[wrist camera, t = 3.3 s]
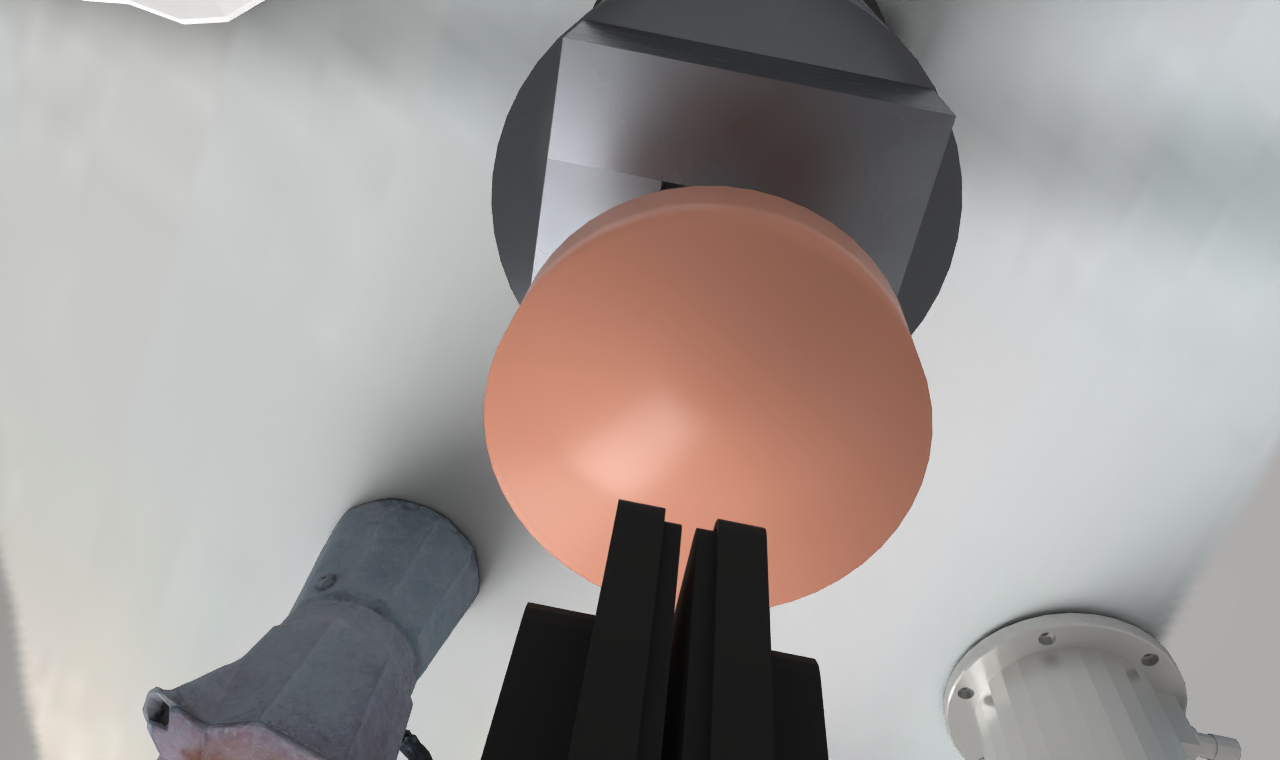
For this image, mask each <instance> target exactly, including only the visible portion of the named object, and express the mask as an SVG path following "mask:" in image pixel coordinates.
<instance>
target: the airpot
mask: <svg viewBox="0 0 1280 760" xmlns="http://www.w3.org/2000/svg"><path fill="white" fill-rule="evenodd" d="M955 118H956V115H955V114H954V113H953V112H952V110H951V109H950V108H949V107H948V106H947V105H946V104H945V102H944V101H943V100H942V99H941V98H940V97H939V95H938V93H937V91H936V89H935V87H934V85H933V84H932V82H931V81H930V79H929V78H928V76H927V75H926V73H925V72H924V70H923V68H922V67H921V65H920V64H919V62H918V61H917V59H916V58H915V57H914V56H913V55H912V54H911V53H910V52H909V50H908V49H907V48H906V47H905V46H904V45H903V44H902V42H901V41H900V40H899V39H898V38H897V37H896V36H895V35H894V34H893V32H892V31H891V30H890V29H889V28H888V27H887V26H886V24H885V21H884V18H883V16H882V14H881V12H880V10H879V7H878V5H877V3H876V1H875V0H597V1H596V3H595V5H594V7H593V9H592V10H591V11H589V12H588V13H587V14H586V15H585V16H584V17H582V18H581V19H580V20H579V21H578V22H577V23H575V24H574V25H573V26H572V27H571V28H570V29H569V30H567V31H566V32H565V33H564V34H563V35H562V36H560V37H559V38H558V39H557V40H556V42H555V43H554V44H553V45H552V46H551V47H550V49H549V50H548V51H547V52H546V53H545V54H544V55H543V57H542V58H541V59H540V60H539V61H538V62H537V64H536V65H535V67H534V68H533V70H532V71H531V73H530V74H529V76H528V77H527V79H526V81H525V82H524V84H523V85H522V87H521V88H520V90H519V92H518V94H517V96H516V99H515V101H514V103H513V105H512V107H511V109H510V111H509V113H508V115H507V118H506V121H505V124H504V127H503V131H502V134H501V137H500V140H499V143H498V147H497V153H496V159H495V164H494V170H493V179H492V214H493V224H494V234H495V238H496V242H497V247H498V251H499V255H500V260H501V263H502V266H503V268H504V271H505V274H506V276H507V279H508V282H509V284H510V287H511V289H512V291H513V293H514V295H515V297H516V299H517V301H518V303H519V304H521V302H522V301H523V299H524V297H525V295H526V293H527V291H528V289H529V287H530V286H531V284H532V282H533V280H534V278H535V276H536V275H537V273H538V272H539V270H540V269H541V268H542V266H543V265H544V264H545V262H546V261H547V260H548V258H549V257H550V256H551V254H552V253H553V252H554V251H555V250H556V249H557V248H558V247H559V246H560V245H561V244H562V243H563V242H564V241H565V240H566V239H567V238H568V237H569V236H570V235H572V234H573V233H574V232H575V231H577V230H578V229H579V228H581V227H582V226H583V225H585V224H586V223H587V222H589V221H590V220H591V219H593V218H595V217H597V216H599V215H600V214H602V213H604V212H606V211H607V210H609V209H611V208H613V207H615V206H617V205H620V204H622V203H624V202H627V201H629V200H632V199H634V198H637V197H639V196H643V195H647V194H651V193H655V192H659V191H663V190H666V189H674V188H682V187H690V186H727V187H735V188H742V189H750V190H755V191H759V192H762V193H766V194H770V195H774V196H777V197H781V198H783V199H786V200H788V201H791V202H793V203H795V204H798V205H800V206H803V207H805V208H807V209H809V210H811V211H813V212H814V213H816V214H818V215H819V216H821V217H823V218H825V219H826V220H828V221H830V222H831V223H833V224H834V225H835V226H837V227H838V228H839V229H840V230H842V231H843V232H844V233H846V234H847V235H848V236H849V237H851V238H852V239H853V240H854V241H855V242H856V243H857V244H858V245H859V246H860V247H861V248H862V249H863V250H864V251H865V252H866V253H867V254H868V255H869V256H870V257H871V258H872V259H873V261H874V262H875V264H876V265H877V266H878V268H879V269H880V270H881V272H882V273H883V275H884V276H885V277H886V279H887V280H888V282H889V284H890V286H891V288H892V290H893V292H894V294H895V295H896V297H897V299H898V301H899V303H900V306H901V309H902V312H903V315H904V317H905V320H906V323H907V326H908V329H909V332H910V334H911V335H912V334H913V332H914V331H915V330H916V328H917V327H918V326H919V324H920V323H921V322H922V321H923V319H924V318H925V316H926V314H927V312H928V311H929V309H930V307H931V306H932V304H933V302H934V301H935V299H936V297H937V295H938V294H939V291H940V289H941V287H942V284H943V282H944V280H945V277H946V275H947V272H948V270H949V268H950V265H951V261H952V257H953V254H954V250H955V246H956V243H957V239H958V233H959V226H960V218H961V210H962V176H961V169H960V163H959V156H958V149H957V144H956V141H955V138H954V134H953V131H952V127H953V124H954V121H955Z"/></svg>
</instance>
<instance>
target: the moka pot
mask: <svg viewBox="0 0 1280 760" xmlns="http://www.w3.org/2000/svg"><path fill="white" fill-rule="evenodd" d="M478 592H479V575H478V567H477V561H476V557H475V552H474V550H473V548H472V547H471V545H470V543H469V542H468V541H467V539H466V538H465V537H464V536H463V535H462V533H460V532H459V531H458V530H457V528H456V527H455V526H453V525H452V524H451V522H450V521H449V519H446V518H444V517H443V516H442V515H440V514H438V513H436V512H434V511H433V510H432V509H429V508H427V507H424V506H420V505H417V504H415V503H413V502H407V501H405V500H398V499H387V500H378V501H374V502H370V503H366V504H363V505H361V506H358V507H356V508H353V509H350V510H349V511H347V512H346V513H345V514H344V515H343V516H342V518H341V519H340V521H339V522H338V524H337V525H336V527H335V529H334V530H333V532H332V534H331V536H330V537H329V539H328V541H327V543H326V544H325V546H324V547H323V549H322V551H321V553H320V555H319V557H318V559H317V561H316V563H315V565H314V567H313V569H312V571H311V573H310V575H309V577H308V579H307V581H306V583H305V585H304V587H303V589H302V591H301V593H300V595H299V596H298V598H297V600H296V602H295V604H294V606H293V608H292V610H291V612H290V614H289V616H288V617H287V618H286V619H285V620H284V621H283V622H282V624H281V625H278V626H274V627H273V628H272V629H271V630H270V631H269V632H268V633H267V634H266V635H265V636H264V637H263V638H262V639H261V640H260V641H259V642H258V643H257V644H256V645H255V646H254V647H253V648H252V649H251V650H250V651H249V652H248V653H247V654H246V655H245V656H243V657H242V658H241V659H239V660H237V661H235V662H233V663H231V664H228V665H225V666H223V667H221V668H218V669H216V670H214V671H212V672H210V673H208V674H206V675H204V676H202V677H200V678H198V679H195V680H193V681H191V682H188V683H186V684H184V685H181V686H179V687H177V688H175V689H173V690H163V689H161V688H159V687H155V688H154V689H152V690H151V691H149V693H148V695H147V697H146V701H145V704H144V707H143V714H144V717H145V719H146V721H147V729H148V731H149V733H150V735H151V737H152V740H153V742H154V744H155V746H156V748H157V750H158V752H159V754H160V755H159V757H158V759H157V760H396V759H397V756H398V753H399V750H400V751H401V752H402V753H403V754H404V755H405V756H406V757H407V758H408V760H433V759H432V757H431V755H430V753H429V751H428V750H427V749H426V748H425V746H424V745H422V744H421V743H420V741H419V740H418V738H417V737H416V735H413V734H411V732H410V730H406V726H407V723H408V720H409V716H410V713H411V710H412V706H413V703H412V700H411V697H410V696H411V694H412V692H413V690H414V687H415V684H416V682H417V680H418V679H419V678H420V676H421V675H422V674H423V673H424V671H425V670H426V669H427V667H428V665H429V664H430V662H431V661H432V660H433V658H434V657H435V655H436V654H437V652H438V651H439V649H440V648H441V646H442V645H443V644H444V642H445V641H446V640H447V638H448V637H449V635H450V634H451V632H452V631H453V629H454V628H455V626H456V625H457V624H458V622H459V621H460V619H461V618H462V617H463V615H464V614H465V612H466V611H467V610H468V608H469V607H470V606H471V604H472V603H473V601H474V600H475V598H476V596H477V595H478Z"/></svg>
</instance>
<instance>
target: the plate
mask: <svg viewBox="0 0 1280 760" xmlns="http://www.w3.org/2000/svg"><path fill="white" fill-rule="evenodd" d="M84 1H96V2H108V3H120V4H130V5H132V6H135V7H138V8H141V9H143V10H146V11H149V12H151V13H154V14H157V15H160V16H162V17H165V18H168V19H171V20H173V21H176V22H179V23H181V24H199V23H217V22H229V21H231V20H233V19H234V18H236V17H238V16H240V15H241V14H243V13H245V12H246V11H248V10H250V9H251V8H253V7H255V6H256V5H258V4H260V3H261V2H263V1H265V0H84Z"/></svg>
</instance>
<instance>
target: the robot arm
mask: <svg viewBox="0 0 1280 760" xmlns="http://www.w3.org/2000/svg"><path fill="white" fill-rule="evenodd" d="M665 512H666V509H665V508H662V507H657V506H652V505H647V504H642V503H637V502H632V501H627V500H622V499H619V501H618V506H617V511H616V516H615V521H614V526H613V531H612V536H611V541H610V546H609V551H608V556H607V561H606V566H605V571H604V576H603V581H602V586H601V591H600V596H599V601H598V606H597V611H596V616H595V615H590V614H585V613H580V612H575V611H570V610H565V609H560V608H555V607H550V606H545V605H540V604H535V603H530V602H528V603H527V605H526V608H525V611H524V614H523V617H522V621H521V624H520V627H519V631H518V634H517V638H516V641H515V644H514V648H513V651H512V655H511V658H510V662H509V665H508V668H507V672H506V675H505V679H504V682H503V685H502V689H501V692H500V696H499V699H498V703H497V706H496V709H495V713H494V716H493V720H492V723H491V727H490V730H489V733H488V737H487V740H486V744H485V747H484V750H483V754H482V757H481V760H828V750H827V740H826V729H825V719H824V708H823V698H822V688H821V677H820V671H819V666H818V663H817V662H816V660H815V659H813V658H808V657H803V656H797V655H792V654H787V653H782V652H777V651H772V650H771V636H770V609H769V581H768V553H767V533H766V529H765V528H763V527H758V526H753V525H748V524H743V523H738V522H733V521H728V520H723V519H717V520H716V523H715V525H714V529H713V531H711V530H706V529H701V528H696V530H695V533H694V537H693V541H692V545H691V549H690V553H689V557H688V561H687V565H686V569H685V573H684V577H683V581H682V585H681V589H680V593H679V597H678V601H677V605H676V609H675V600H676V589H677V578H678V567H679V556H680V545H681V534H682V525H681V524H676V523H671V522H666V521H665ZM674 611H675V613H674ZM1186 705H1187V694H1186V688H1185V682H1184V680H1183V678H1182V676H1181V674H1180V672H1179V670H1178V667H1177V666H1176V664H1175V662H1174V661H1173V659H1172V658H1171V656H1170V654H1169V653H1168V651H1167V650H1166V649H1165V648H1164V647H1163V646H1162V645H1161V644H1160V643H1159V642H1158V641H1157V640H1156V639H1155V638H1154V637H1152V636H1151V635H1149V634H1148V633H1146V632H1144V631H1143V630H1141V629H1139V628H1138V627H1136V626H1134V625H1131V624H1128V623H1126V622H1123V621H1120V620H1118V619H1115V618H1110V617H1105V616H1100V615H1095V614H1082V613H1062V614H1051V615H1044V616H1039V617H1035V618H1031V619H1026V620H1022V621H1020V622H1017V623H1015V624H1012V625H1010V626H1007V627H1004V628H1002V629H1000V630H998V631H996V632H995V633H993V634H991V635H990V636H988V637H986V638H984V639H983V640H981V641H980V642H979V643H978V644H977V645H975V646H974V647H973V648H972V649H971V650H969V651H968V652H967V653H966V654H965V655H964V657H963V658H962V659H961V660H960V661H959V663H958V664H957V665H956V666H955V668H954V670H953V672H952V674H951V676H950V678H949V679H948V681H947V685H946V689H945V693H944V697H943V706H944V717H945V721H946V725H947V730H948V733H949V735H950V737H951V740H952V742H953V744H954V746H955V748H956V749H957V750H958V751H959V753H960V754H961V755H962V757H963V758H964V759H965V760H1195V759H1196V757H1201V758H1206V759H1207V760H1240V758H1241V748H1240V745H1239V742H1238V741H1237V740H1236V739H1233V738H1228V737H1223V736H1218V735H1213V734H1202V733H1197V731H1196V730H1195V728H1193V727H1192V726H1190V724H1189V722H1188V720H1187V718H1186V716H1185V713H1186Z"/></svg>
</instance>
